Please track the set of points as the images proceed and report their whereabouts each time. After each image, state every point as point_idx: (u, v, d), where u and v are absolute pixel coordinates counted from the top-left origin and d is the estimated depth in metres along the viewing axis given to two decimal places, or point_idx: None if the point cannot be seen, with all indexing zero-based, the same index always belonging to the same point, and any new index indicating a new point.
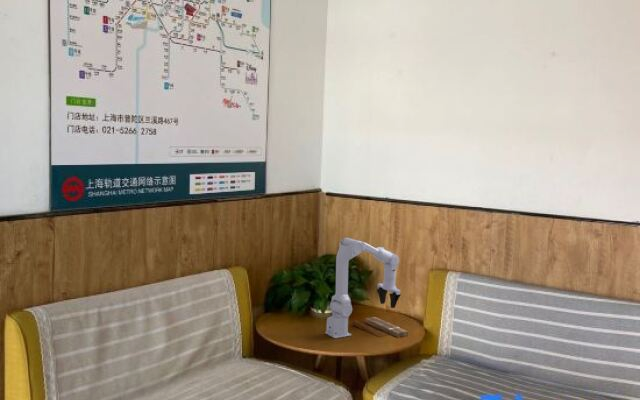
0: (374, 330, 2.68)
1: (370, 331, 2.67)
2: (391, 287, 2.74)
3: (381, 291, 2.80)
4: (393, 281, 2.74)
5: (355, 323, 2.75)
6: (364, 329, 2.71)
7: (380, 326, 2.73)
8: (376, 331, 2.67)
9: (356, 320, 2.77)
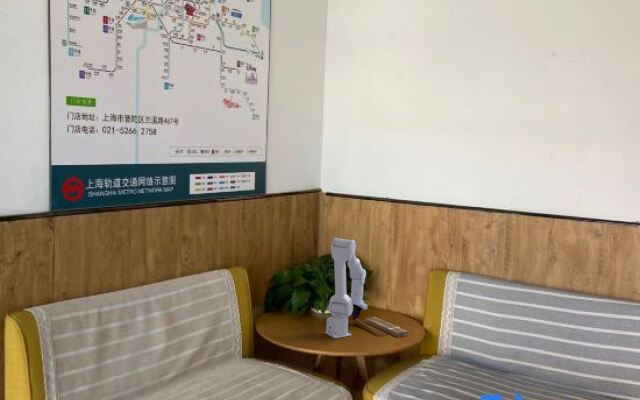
0: (374, 329, 2.69)
1: (370, 330, 2.68)
2: (358, 302, 2.76)
3: None
4: (360, 296, 2.76)
5: (356, 322, 2.77)
6: (365, 328, 2.72)
7: (380, 326, 2.73)
8: (376, 330, 2.68)
9: (357, 319, 2.78)
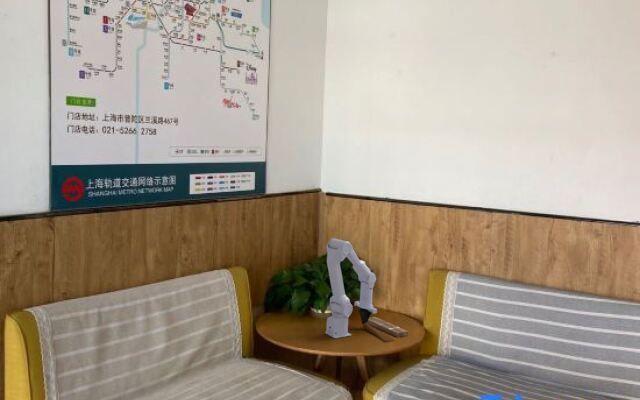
0: (382, 334, 2.62)
1: (378, 335, 2.62)
2: (368, 306, 2.70)
3: None
4: (370, 299, 2.70)
5: (365, 326, 2.71)
6: (373, 332, 2.65)
7: (380, 326, 2.73)
8: (384, 335, 2.61)
9: (367, 323, 2.72)
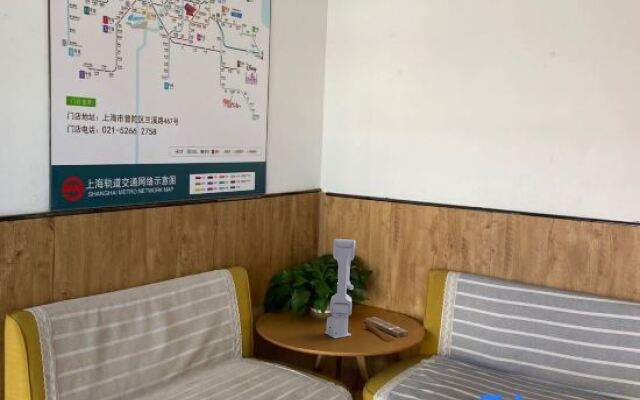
0: (383, 334, 2.63)
1: (379, 335, 2.62)
2: None
3: None
4: (347, 277, 2.82)
5: (368, 326, 2.72)
6: (374, 332, 2.66)
7: (380, 326, 2.73)
8: (385, 335, 2.62)
9: (369, 323, 2.73)
